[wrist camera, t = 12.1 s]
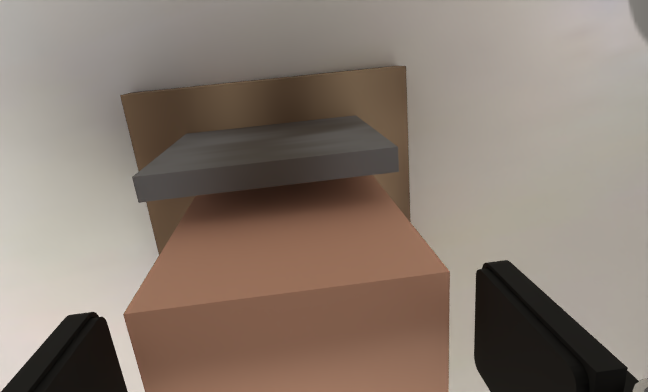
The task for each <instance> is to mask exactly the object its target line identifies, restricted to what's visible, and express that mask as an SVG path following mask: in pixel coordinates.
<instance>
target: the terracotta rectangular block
mask: <svg viewBox="0 0 648 392" xmlns="http://www.w3.org/2000/svg"><path fill="white" fill-rule="evenodd" d="M449 287H450V271H449V270H448V269H447V268H446V266H445V265H444V264H443V263H442V261H441V260H440V259H439V258H438V256H437V255H436V254H435V253H434V251H433V250H432V249H431V248H430V246H429V245H428V244H427V243H426V241H425V240H424V239H423V238H422V236H421V235H420V234H419V233H418V231H417V230H416V229H415V228H414V226H413V225H412V224H411V223H410V221H409V220H408V219H407V218H406V216H405V215H404V214H403V213H402V211H401V210H400V209H399V208H398V206H397V205H396V204H395V203H394V201H393V200H392V199H391V198H390V196H389V195H388V194H387V193H386V191H385V190H384V189H383V187H382V186H381V185H380V184H379V182H378V181H377V180H376V179H375V177H374V176H373V175H368V176H359V177H351V178H342V179H334V180H325V181H317V182H308V183H300V184H291V185H283V186H275V187H266V188H258V189H249V190H241V191H232V192H224V193H215V194H207V195H198V196H195V198H194V199H193V201H192V203H191V204H190V206H189V208H188V209H187V211H186V212H185V214H184V216H183V217H182V219H181V221H180V222H179V224H178V226H177V227H176V229H175V231H174V232H173V234H172V235H171V237H170V239H169V240H168V242H167V244H166V245H165V247H164V249H163V250H162V252H161V253H160V255H159V257H158V258H157V260H156V262H155V263H154V265H153V267H152V268H151V270H150V271H149V273H148V275H147V276H146V278H145V280H144V281H143V283H142V285H141V286H140V288H139V290H138V291H137V293H136V294H135V296H134V298H133V299H132V301H131V303H130V304H129V306H128V308H127V309H126V311H125V312H124V314H123V315H124V318H125V322H126V325H127V329H128V332H129V336H130V340H131V343H132V347H133V350H134V354H135V357H136V361H137V364H138V368H139V371H140V375H141V379H142V382H143V386H144V389H145V392H448V384H449Z"/></svg>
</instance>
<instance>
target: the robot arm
mask: <svg viewBox="0 0 648 392" xmlns="http://www.w3.org/2000/svg"><path fill="white" fill-rule="evenodd" d="M474 359H475V364H476V367H477V370H478V372H479V373H480V375H481V377H482V378H483V380H484V382H485V383H486V385H487V387H488V388H489V390H490V391H491V392H648V378H646V379H642V380H641V381H638V380H637V379H636V378H635V377H634V376H633V375H632V374H631V373H629V372H628V371H627V367H626V366H625V365H624V364H623V363H622V362H621V361H619V360H618V359H617V358H616V357H615V356H614V355H613V354H612V353H611V352H609V351H608V350H607V349H606V348H605V347H604V346H603V345H602V344H601V343H599V342H598V341H597V340H596V339H595V338H594V337H593V336H592V335H591V334H589V333H588V332H587V331H586V330H585V329H584V328H583V327H582V326H581V325H579V324H578V323H577V322H576V321H575V320H574V319H573V318H572V317H571V316H570V315H568V314H567V313H566V312H565V311H564V310H563V309H562V308H561V307H560V306H558V305H557V304H556V303H555V302H554V301H553V300H552V299H551V298H550V297H548V296H547V295H546V294H545V293H544V292H543V291H542V290H541V289H540V288H538V287H537V286H536V285H535V284H534V283H533V282H532V281H531V280H530V279H528V278H527V277H526V276H525V275H524V274H523V273H522V272H521V271H520V270H518V269H517V268H516V267H515V266H514V265H513V264H512V263H511V262H509V261H508V260H505V261H497V262H489V263H485V264H483V267H482V269H479V270H477V273H476V301H475V345H474ZM1 392H128V391H127V388H126V385H125V381H124V378H123V375H122V371H121V368H120V365H119V361H118V358H117V355H116V351H115V348H114V345H113V341H112V338H111V335H110V331H109V328H108V325H107V322H106V320H105V318H103V317H99V316H98V315H97V313H95V312H89V313H81V314H73V315H68V316H67V317H66V318H65V319H64V320H63V321H62V322H61V323H60V325H59V326H58V327H57V328H56V329H55V330H54V331H53V333H52V334H51V335H50V336H49V337H48V338H47V339H46V341H45V342H44V343H43V344H42V345H41V346H40V348H39V349H38V350H37V351H36V352H35V353H34V354H33V356H32V357H31V358H30V359H29V360H28V361H27V362H26V364H25V365H24V366H23V367H22V368H21V369H20V371H19V372H18V373H17V374H16V375H15V376H14V377H13V379H12V380H11V381H10V382H9V383H8V384H7V385H6V387H5V388H4V389H3V390H2V391H1Z"/></svg>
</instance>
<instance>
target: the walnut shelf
mask: <svg viewBox="0 0 648 392" xmlns="http://www.w3.org/2000/svg"><path fill="white" fill-rule="evenodd" d="M120 96H121V100H122V105H123V109H124V113H125V117H126V121H127V125H128V129H129V133H130V137H131V141H132V146H133V150H134V154H135V158H136V162H137V166H138V170H139V172H138V173H137V174H135V175H134V176H133V177H132V178H133V182H134V186H135V190H136V194H137V198H138V202H146V203H147V207H148V211H149V215H150V219H151V224H152V228H153V232H154V236H155V240H156V244H157V248H158V252H159V255H160V253H161V252H162V250H163V249H164V247H165V245H166V244H167V242H168V240H169V239H170V237H171V235H172V234H173V232H174V231H175V229H176V227H177V226H178V224H179V222H180V221H181V219H182V217H183V216H184V214H185V212H186V211H187V209H188V208H189V206H190V204H191V203H192V201H193V199H194V198H195V196H198V195H207V194H215V193H224V192H232V191H241V190H249V189H258V188H266V187H275V186H283V185H291V184H300V183H308V182H317V181H325V180H334V179H342V178H351V177H359V176H368V175H373V176H374V177H375V179H376V180H377V181H378V182H379V184H380V185H381V186H382V187H383V189H384V190H385V191H386V193H387V194H388V195H389V196H390V198H391V199H392V200H393V201H394V203H395V204H396V205H397V206H398V208H399V209H400V210H401V211H402V213H403V214H404V215H405V216H406V218H407V219H408V220H409V221H410V193H409V157H408V122H407V87H406V66H391V67H381V68H372V69H362V70H352V71H342V72H332V73H322V74H312V75H302V76H292V77H282V78H273V79H263V80H253V81H243V82H233V83H223V84H213V85H203V86H193V87H184V88H174V89H164V90H154V91H144V92H134V93H128V94H124V95H120Z"/></svg>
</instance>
